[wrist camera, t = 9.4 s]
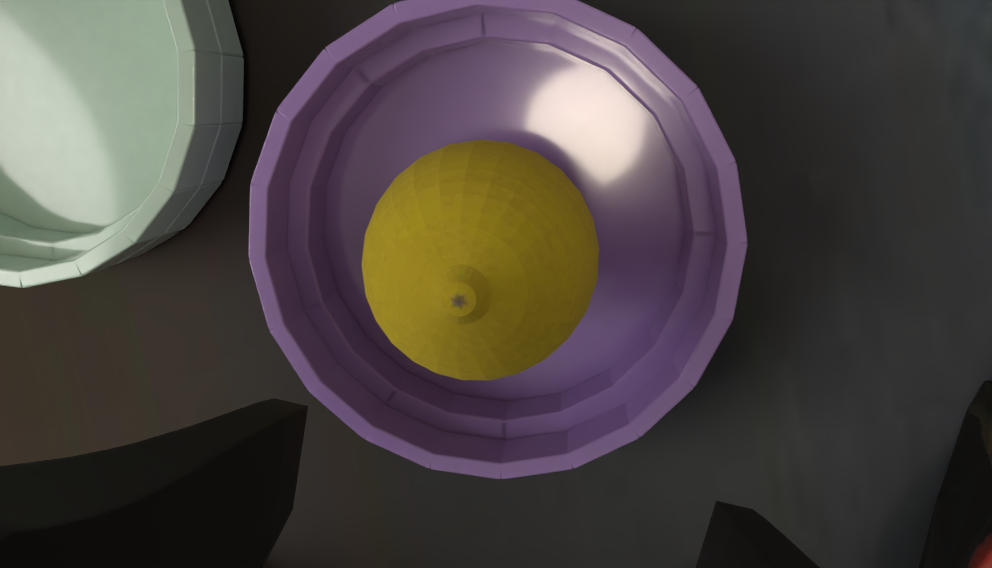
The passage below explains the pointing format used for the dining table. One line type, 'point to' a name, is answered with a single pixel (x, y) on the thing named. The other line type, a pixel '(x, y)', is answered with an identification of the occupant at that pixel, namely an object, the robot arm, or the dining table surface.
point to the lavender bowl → (561, 140)
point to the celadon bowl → (110, 128)
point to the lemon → (480, 260)
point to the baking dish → (965, 496)
